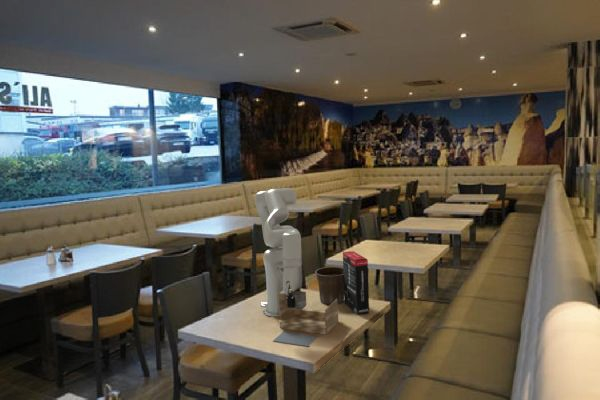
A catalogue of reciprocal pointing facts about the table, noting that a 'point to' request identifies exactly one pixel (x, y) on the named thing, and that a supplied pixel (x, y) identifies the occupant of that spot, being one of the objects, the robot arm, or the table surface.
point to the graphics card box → (356, 282)
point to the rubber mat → (295, 339)
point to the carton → (309, 319)
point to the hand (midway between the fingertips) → (294, 304)
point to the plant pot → (330, 284)
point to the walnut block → (299, 300)
